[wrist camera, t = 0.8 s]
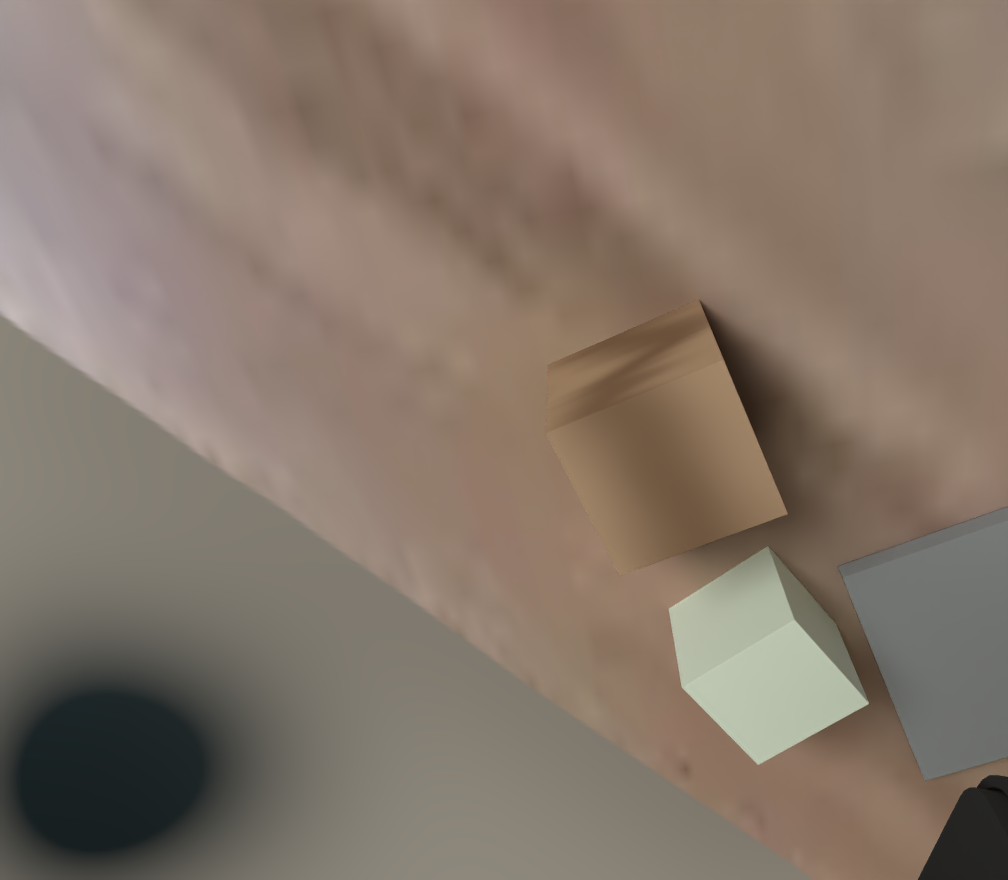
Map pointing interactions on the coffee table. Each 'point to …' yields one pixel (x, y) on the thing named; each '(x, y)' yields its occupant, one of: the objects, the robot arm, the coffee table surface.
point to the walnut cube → (658, 441)
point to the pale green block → (764, 657)
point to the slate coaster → (942, 639)
